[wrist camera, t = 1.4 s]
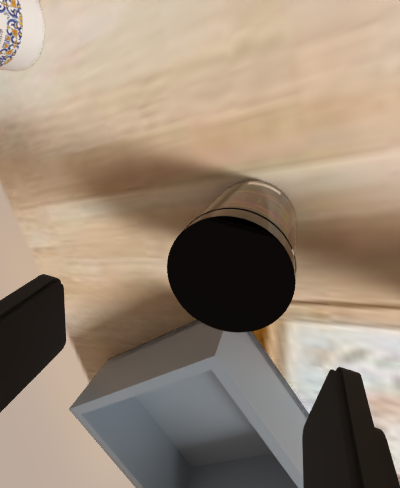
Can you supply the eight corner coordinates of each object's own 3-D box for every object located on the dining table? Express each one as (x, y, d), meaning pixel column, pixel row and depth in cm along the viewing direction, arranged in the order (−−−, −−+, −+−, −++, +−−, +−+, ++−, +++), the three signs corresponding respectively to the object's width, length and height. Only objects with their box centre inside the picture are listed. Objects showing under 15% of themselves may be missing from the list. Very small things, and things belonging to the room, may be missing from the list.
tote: (328, 442, 31) (335, 522, 25) (193, 465, 39) (173, 531, 33) (232, 304, 28) (214, 355, 22) (108, 359, 36) (69, 409, 30)
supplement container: (208, 246, 27) (161, 312, 18) (220, 170, 24) (173, 201, 15) (284, 265, 26) (277, 348, 16) (307, 187, 23) (313, 233, 14)
